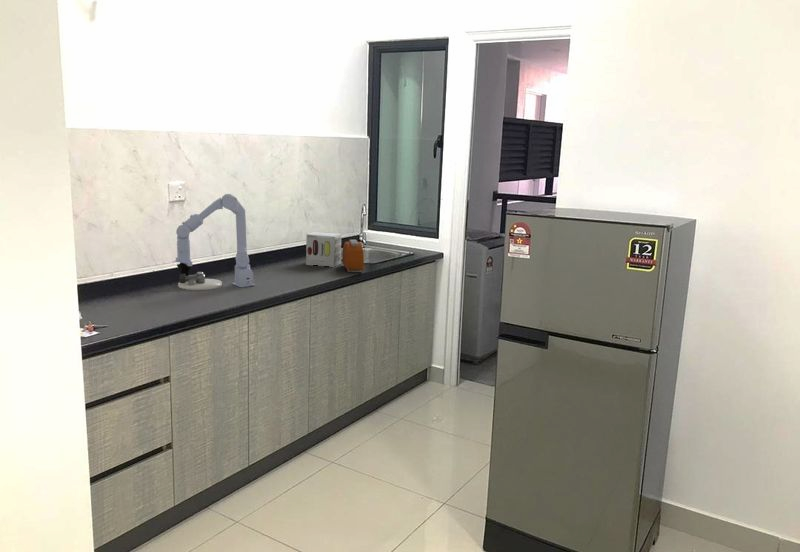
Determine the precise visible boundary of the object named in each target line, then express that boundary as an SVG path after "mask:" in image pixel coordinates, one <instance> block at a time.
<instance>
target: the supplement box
mask: <svg viewBox="0 0 800 552" xmlns="http://www.w3.org/2000/svg"><path fill="white" fill-rule="evenodd" d="M305 242H306V245H305V246H306V247H305V249H306V250H305V251H306V253H305V254H306V255H305V265H306V266H313V265H318V266H317V267H324V266H329V267H328V268H336V267H338V266H339V264H340V265H341V264H342V233H339V232H324V231H323V232H322V231H312V232H309V233H306V241H305ZM337 265H338V266H337ZM335 266H336V267H335Z"/></svg>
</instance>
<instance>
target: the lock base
mask: <svg viewBox="0 0 800 552" xmlns="http://www.w3.org/2000/svg"><path fill="white" fill-rule="evenodd" d="M222 286H223V282H222V281H221V280H220V279H216V278H215V279H214V278H205V283H196V282H195V281H194V280H193V279H190V280H188V282H186V283H180V281H179V282H178V283H177V287H178V288H179V289H180V288H181V290H184V289H185V291H197V290H198V291H211V290H216V289H219V288H221V287H222Z"/></svg>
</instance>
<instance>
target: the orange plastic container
mask: <svg viewBox="0 0 800 552" xmlns="http://www.w3.org/2000/svg"><path fill="white" fill-rule="evenodd" d="M364 256H365V255H364V247H363V244H362V242H360V241H357V239H349V240H348V241H345V242H344V243H343V246H342V253H341V263H342V265H343V267H344V266H345V267H344V268H345V269H346V270H347V271H348V272H347V271H346V272H347V273H362V271H364V264H365V258H364Z"/></svg>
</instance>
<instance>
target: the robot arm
mask: <svg viewBox="0 0 800 552" xmlns="http://www.w3.org/2000/svg"><path fill="white" fill-rule="evenodd" d="M223 209H227V210H229V211H231V212H232V213H233V214H234V215H235V222H236V223H235V227H236V228H235V229H236V254H235V258H234V259H235V262H236V264H235V265H234V282H231V285H234V286H236V287H238V288H245V287H252V286H254V287H255V286H256V284H255V283H254V282H255V281H254V272H253V270H252V269H251V264H250V258H249V255H248V247H247V225H246V224H247V223H246V222H247V221H246V209H245V208H244V206H243V205H242V204H241V202H240V201H239V200H238V198H236V197H235V196H234V195H233V194H231V193H225V194H224V195H222V197H219V198H217V199H216V200H214V201H213V202H212V203H210V205H208V206H207V207H206V208H205V209H203V210H202V211H201V212H200V213H199V214H197V213H194V214H190V215H189V218H188V219H187V220H185V221H182V222H181V225H179V226H178V227H177V228H176V233H175V234H176V236H177V237H176V240H177V241H176V252H177V253H176V254H177V257H175V260H174V262H175V263H178V264H176V267H177V268H178V271H179V273H180V274H186V276H187V275H189V272H190V270H191V268H192V267H193V262H192V259H191V241H190V233H193V232H194V231H196V230H197V229H198V228H199V227H200V226H202V225H203V224H204V220H205V219H206V218H207V217H209V216H210V215H211V214H212V213H214V212H215V211H217V210H223ZM180 274H179V275H180Z"/></svg>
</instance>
